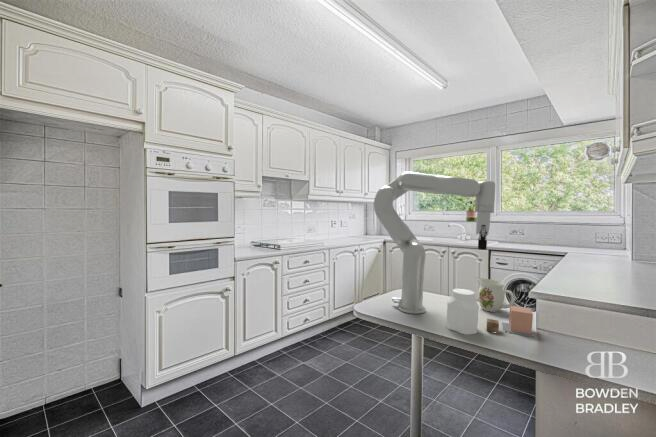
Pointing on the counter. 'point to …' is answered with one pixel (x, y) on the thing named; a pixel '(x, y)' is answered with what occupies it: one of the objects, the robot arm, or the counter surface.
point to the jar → (462, 312)
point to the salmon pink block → (520, 319)
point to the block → (492, 325)
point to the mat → (507, 329)
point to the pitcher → (492, 295)
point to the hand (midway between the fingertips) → (482, 247)
